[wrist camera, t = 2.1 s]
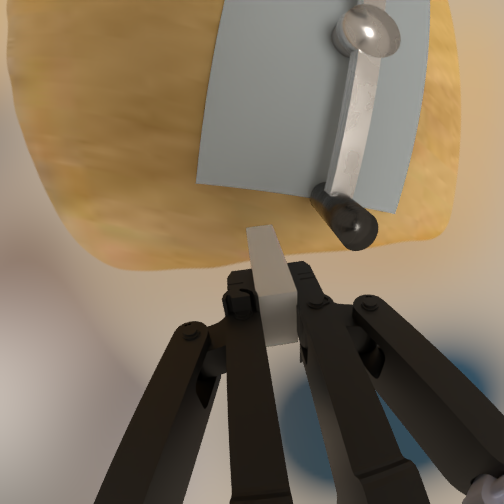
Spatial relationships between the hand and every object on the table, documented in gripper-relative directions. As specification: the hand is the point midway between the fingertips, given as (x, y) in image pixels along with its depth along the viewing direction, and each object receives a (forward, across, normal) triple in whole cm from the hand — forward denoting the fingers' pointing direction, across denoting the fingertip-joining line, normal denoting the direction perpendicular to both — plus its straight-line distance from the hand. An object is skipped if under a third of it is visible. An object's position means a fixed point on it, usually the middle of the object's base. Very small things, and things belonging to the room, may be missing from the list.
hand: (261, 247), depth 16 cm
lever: (+7, +9, +11) cm, 16 cm away
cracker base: (+9, +8, +12) cm, 17 cm away
